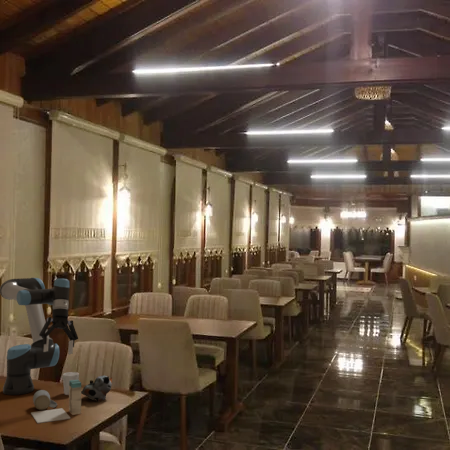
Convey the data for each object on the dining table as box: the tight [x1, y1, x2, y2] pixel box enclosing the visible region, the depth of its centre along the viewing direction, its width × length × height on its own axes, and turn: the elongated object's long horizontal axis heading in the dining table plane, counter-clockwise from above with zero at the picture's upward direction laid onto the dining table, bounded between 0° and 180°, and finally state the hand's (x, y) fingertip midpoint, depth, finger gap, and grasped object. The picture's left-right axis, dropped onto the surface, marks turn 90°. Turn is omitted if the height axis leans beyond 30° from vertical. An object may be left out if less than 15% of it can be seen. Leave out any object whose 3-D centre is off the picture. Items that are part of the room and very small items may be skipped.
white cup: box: [62, 371, 80, 396], centre depth 293 cm, size 8×8×10 cm
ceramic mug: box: [32, 389, 58, 411], centre depth 268 cm, size 11×8×8 cm
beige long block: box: [68, 379, 82, 416], centre depth 261 cm, size 6×4×14 cm, turn 28°
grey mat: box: [30, 407, 71, 424], centre depth 256 cm, size 16×14×1 cm
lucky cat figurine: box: [81, 375, 113, 403], centre depth 283 cm, size 15×12×14 cm
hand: (58, 352), depth 275 cm, fingers open, 13 cm apart
